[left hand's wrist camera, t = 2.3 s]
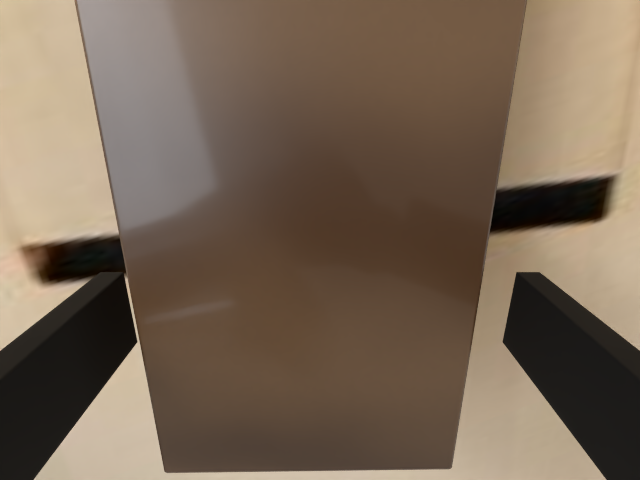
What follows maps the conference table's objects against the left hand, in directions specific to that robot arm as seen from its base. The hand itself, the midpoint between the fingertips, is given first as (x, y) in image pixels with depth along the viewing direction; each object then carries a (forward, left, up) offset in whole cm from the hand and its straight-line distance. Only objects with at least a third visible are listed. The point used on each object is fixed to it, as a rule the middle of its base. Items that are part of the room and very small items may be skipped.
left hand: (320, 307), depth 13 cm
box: (+9, +5, -8) cm, 13 cm away
